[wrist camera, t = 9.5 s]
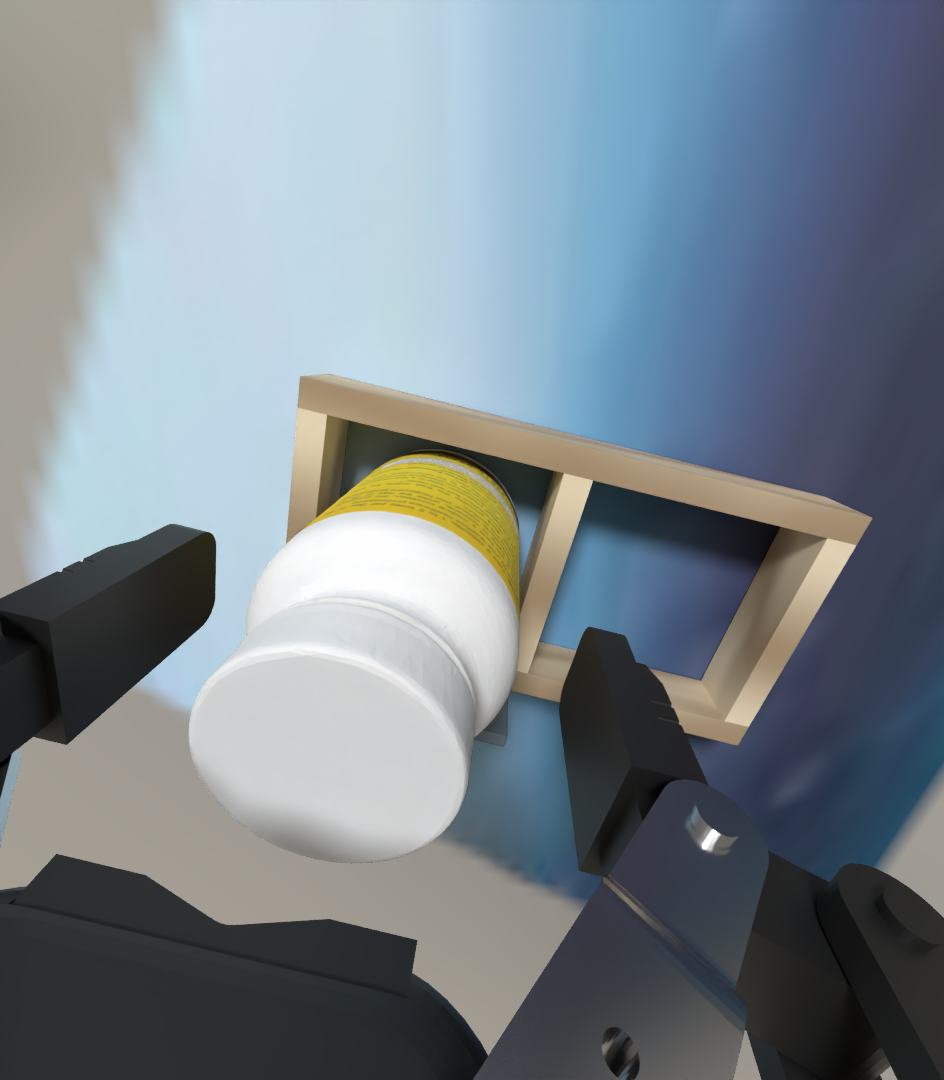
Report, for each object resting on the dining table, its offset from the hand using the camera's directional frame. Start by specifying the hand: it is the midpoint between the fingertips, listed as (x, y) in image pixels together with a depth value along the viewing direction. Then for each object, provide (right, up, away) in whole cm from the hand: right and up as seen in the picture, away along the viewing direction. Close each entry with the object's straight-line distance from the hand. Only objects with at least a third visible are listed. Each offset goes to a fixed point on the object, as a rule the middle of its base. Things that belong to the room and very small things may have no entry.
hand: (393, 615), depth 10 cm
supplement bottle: (+1, +2, +6) cm, 6 cm away
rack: (+4, +1, +6) cm, 7 cm away
